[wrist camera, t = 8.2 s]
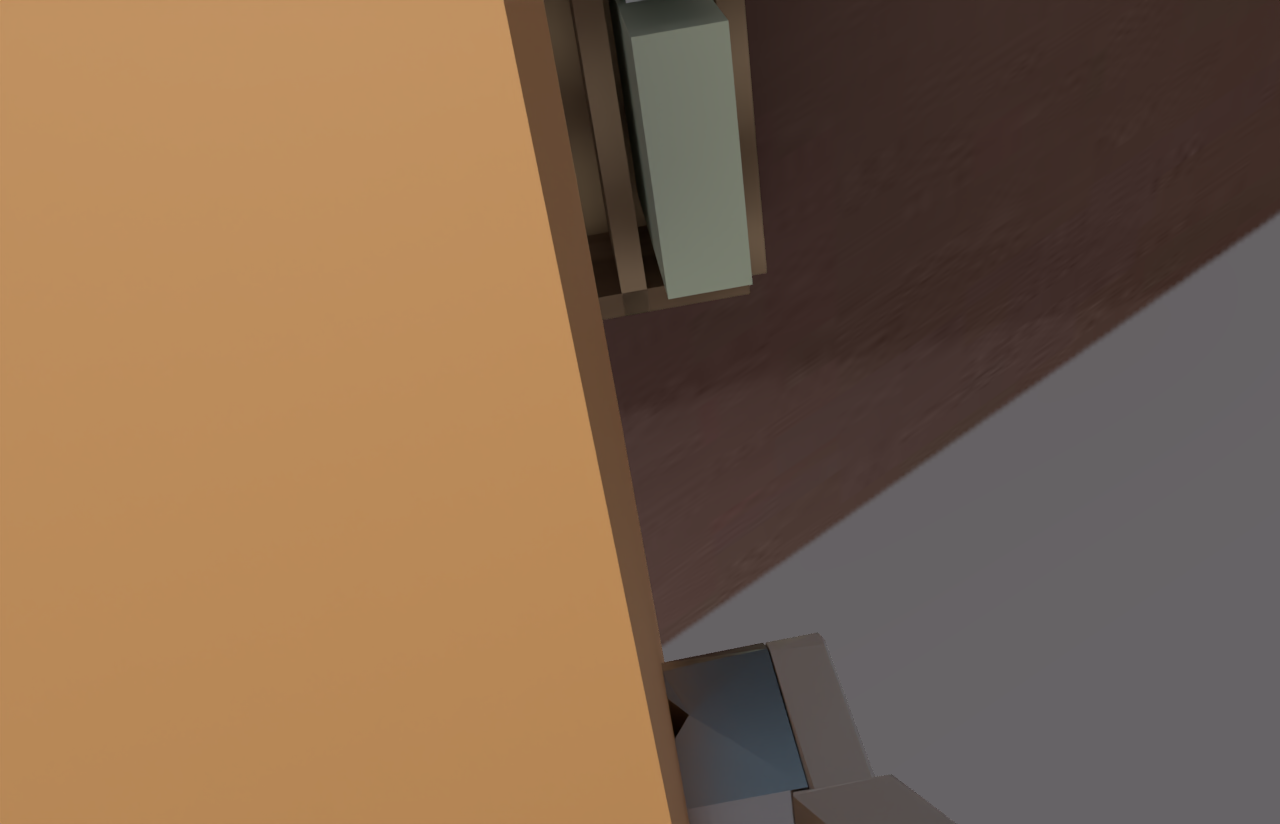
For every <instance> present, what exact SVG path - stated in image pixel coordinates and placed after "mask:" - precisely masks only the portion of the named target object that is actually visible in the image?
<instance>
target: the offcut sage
mask: <svg viewBox="0 0 1280 824" xmlns="http://www.w3.org/2000/svg"><path fill="white" fill-rule="evenodd" d="M608 1H609V8H610V14H611V21H612V28H613V34H614V41H615V48H616V54H617V61H618V67H619V74H620V81H621V87H622V94H623V100H624V107H625V114H626V120H627V127H628V133H629V140H630V147H631V153H632V160H633V167H634V173H635V180H636V186H637V193H638V197H639V200H640V204H641V207H642V211H643V214H644V217H645V221H646V224H647V228H648V231H649V235H650V238H651V242H652V245H653V248H654V252H655V255H656V259H657V262H658V266H659V269H660V273H661V276H662V279H663V283H664V286H665V290H666V293H667V297H668V299H674V298H679V297H685V296H690V295H696V294H701V293H707V292H713V291H718V290H724V289H729V288H735V287H741V286H746V285H752V273H751V262H750V251H749V240H748V229H747V218H746V207H745V196H744V185H743V174H742V163H741V152H740V141H739V130H738V119H737V108H736V97H735V86H734V75H733V64H732V54H731V43H730V32H729V21H728V19H727V18H726V17H725V15H724V14H723V13H722V11H721V10H720V9H719V8H718V6H717V5H716V4H715V2H714V1H713V0H642V1H636V2H631V3H626V2H625V0H608Z"/></svg>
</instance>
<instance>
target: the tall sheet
mask: <svg viewBox="0 0 1280 824" xmlns="http://www.w3.org/2000/svg"><path fill="white" fill-rule="evenodd" d="M661 663H664V657H663V652H662V646H661V641H660V635H659V630H658V624H657V618H656V613H655V607H654V602H653V596H652V591H651V585H650V580H649V574H648V568H647V563H646V557H645V552H644V546H643V541H642V535H641V530H640V524H639V518H638V513H637V507H636V502H635V496H634V491H633V485H632V480H631V474H630V468H629V463H628V457H627V452H626V446H625V441H624V435H623V429H622V424H621V419H620V413H619V408H618V402H617V397H616V391H615V386H614V380H613V375H612V370H611V364H610V359H609V353H608V348H607V342H606V337H605V332H604V326H603V321H602V315H601V310H600V304H599V299H598V293H597V288H596V283H595V277H594V272H593V266H592V261H591V255H590V250H589V245H588V239H587V234H586V228H585V223H584V217H583V212H582V206H581V201H580V196H579V190H578V185H577V179H576V174H575V168H574V163H573V158H572V152H571V147H570V141H569V136H568V130H567V125H566V119H565V114H564V109H563V103H562V98H561V92H560V87H559V81H558V76H557V71H556V65H555V60H554V54H553V49H552V43H551V38H550V32H549V27H548V22H547V16H546V11H545V5H544V0H0V824H690V823H689V817H688V812H687V807H686V801H685V795H684V790H683V784H682V778H681V773H680V767H679V761H678V756H677V750H676V744H675V736H674V731H673V726H672V720H671V715H670V710H669V704H668V699H667V693H666V687H665V682H664V676H663V670H662V664H661Z"/></svg>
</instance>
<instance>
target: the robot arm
mask: <svg viewBox="0 0 1280 824" xmlns="http://www.w3.org/2000/svg"><path fill="white" fill-rule="evenodd" d="M661 664H662V670H663V676H664V682H665V687H666V693H667V699H668V704H669V710H670V715H671V720H672V726H673V731H674V736H675V744H676V750H677V756H678V761H679V767H680V773H681V778H682V784H683V790H684V795H685V801H686V807H687V812H688V817H689V823H690V824H956V823H955V822H954V821H952V820H951V819H950V818H948V817H947V816H946V815H945V814H943V813H942V812H941V811H939V810H938V809H937V808H935V807H934V806H933V805H931V804H930V803H929V802H927V801H926V800H925V799H923V798H922V797H921V796H920V795H918V794H917V793H916V792H914V791H913V790H911V789H910V788H909V787H908V786H906V785H905V784H904V783H902V782H901V781H899V780H898V779H897V778H896V777H894V776H893V775H884V776H877V777H875V776H874V773H873V770H872V768H871V765H870V762H869V760H868V757H867V754H866V751H865V748H864V746H863V743H862V740H861V738H860V735H859V732H858V729H857V726H856V724H855V721H854V718H853V715H852V713H851V710H850V708H849V705H848V702H847V699H846V696H845V694H844V691H843V689H842V686H841V683H840V680H839V677H838V674H837V672H836V669H835V666H834V664H833V661H832V658H831V655H830V653H829V650H828V647H827V644H826V642H825V640H824V639H823V637H822V636H820V634H819V633H814V634H808V635H803V636H798V637H793V638H787V639H782V640H777V641H772V642H767V643H766V645H764V644H763V643H760V644H755V645H750V646H745V647H740V648H734V649H730V650H725V651H720V652H714V653H709V654H705V655H700V656H694V657H689V658H684V659H679V660H674V661H669V662H664V663H661Z"/></svg>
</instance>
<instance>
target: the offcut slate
mask: <svg viewBox="0 0 1280 824" xmlns="http://www.w3.org/2000/svg"><path fill="white" fill-rule="evenodd" d="M636 1H642V0H625V2H626V3H631V2H636Z"/></svg>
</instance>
